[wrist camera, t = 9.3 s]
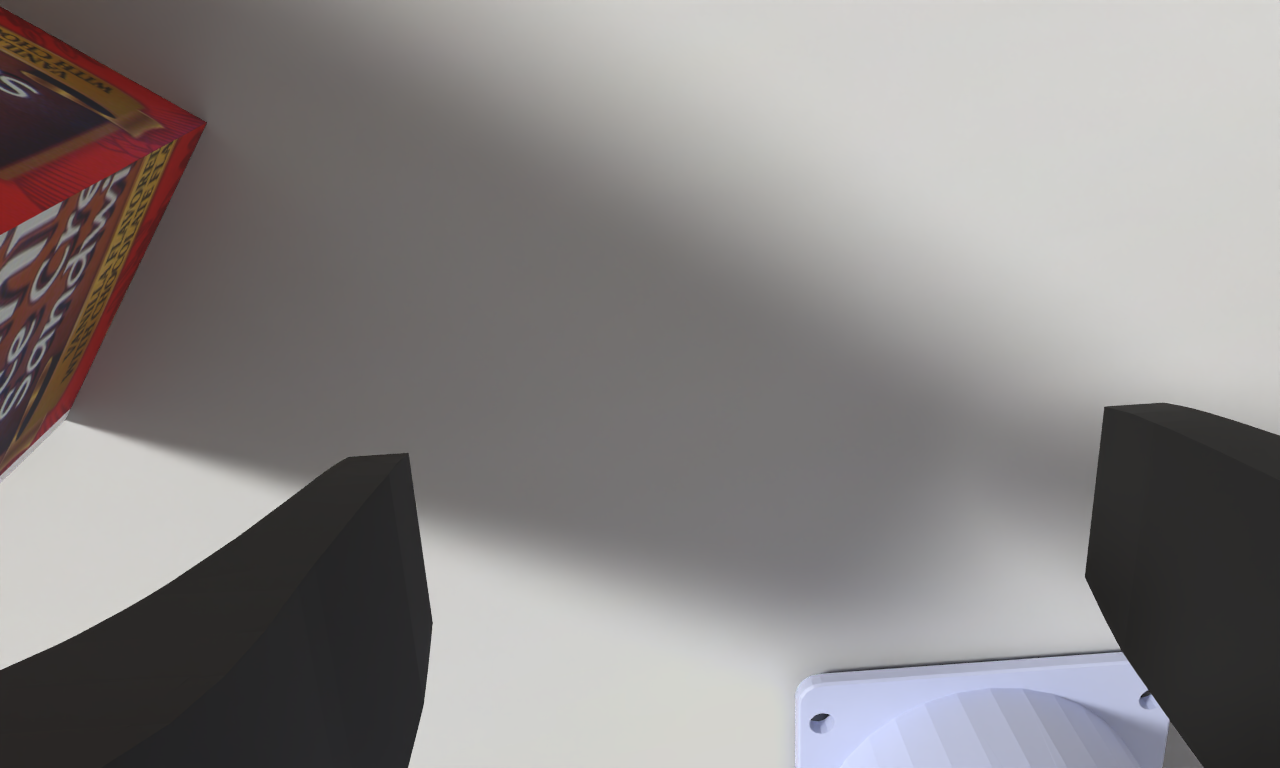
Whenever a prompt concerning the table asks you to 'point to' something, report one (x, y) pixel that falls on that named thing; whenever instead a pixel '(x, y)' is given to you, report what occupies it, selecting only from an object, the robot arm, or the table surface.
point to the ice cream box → (71, 217)
